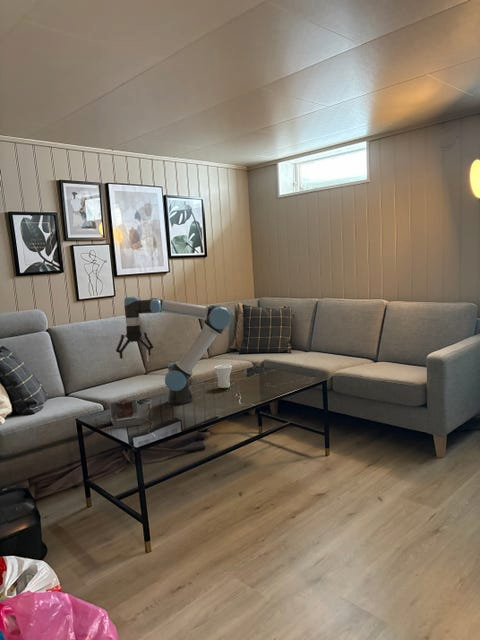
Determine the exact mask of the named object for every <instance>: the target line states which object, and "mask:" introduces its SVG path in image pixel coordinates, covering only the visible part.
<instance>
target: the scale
mask: <svg viewBox="0 0 480 640" xmlns="http://www.w3.org/2000/svg"><path fill="white" fill-rule="evenodd" d="M128 400H130V401H132V404H133V412H135V414H136V415H137V418H133V419H127V420H120V421H117V420H116V418H115V415H117V407H116V402H119V401H120V400H118V401H110V402H109V409H110V410H109V411H110V420H111V423H112V426H113V428H114V429H120V428H127V427H133V426H139V425H142V421H141V417H140V415H139V414H138V412H137V401H136V398H130V399H128Z"/></svg>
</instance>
